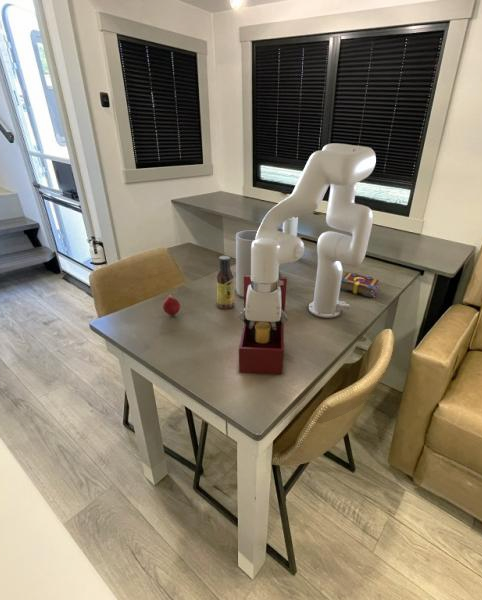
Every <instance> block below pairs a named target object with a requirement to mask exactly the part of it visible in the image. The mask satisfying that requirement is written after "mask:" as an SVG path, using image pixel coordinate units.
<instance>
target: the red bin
mask: <svg viewBox="0 0 482 600" xmlns="http://www.w3.org/2000/svg"><path fill="white" fill-rule="evenodd" d="M259 322H267V321H255V323H254V324H256V323H259ZM267 323H269V324H270V325H271V322H267ZM241 331H242V332H241V335H240V340H239V346H238V373H242V374H245V373H246V374H266V375H283V369H284V368H283V366H284V352H285V346H284V345H285V322H284V323H282V325H280V326H279V327H278V328H277V329H276V330H275V337H273V340H272V341H269V342H267V343H258V342H256V341H255V339H254V340H252V336H250V329H249V327H248V326H247V325H246V324H245V323H244V322H243V326H242V330H241Z"/></svg>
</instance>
